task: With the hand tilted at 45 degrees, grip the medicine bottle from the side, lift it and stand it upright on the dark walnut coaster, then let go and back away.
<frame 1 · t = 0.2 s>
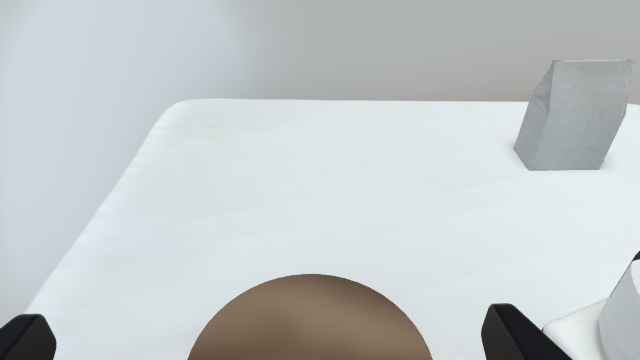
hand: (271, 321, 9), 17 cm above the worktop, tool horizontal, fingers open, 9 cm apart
gable top carton: (554, 160, 44), on the worktop
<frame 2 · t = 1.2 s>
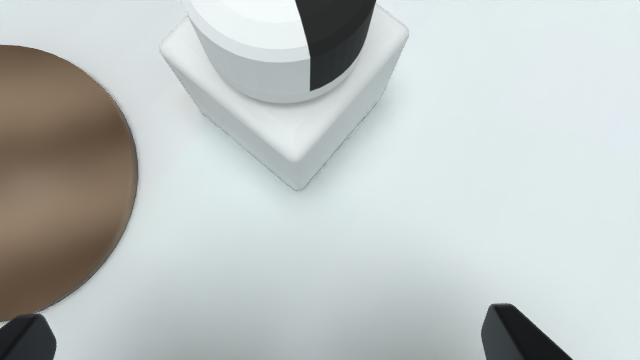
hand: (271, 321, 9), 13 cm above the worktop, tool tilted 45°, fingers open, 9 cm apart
medicine bottle: (291, 104, 24), on the worktop
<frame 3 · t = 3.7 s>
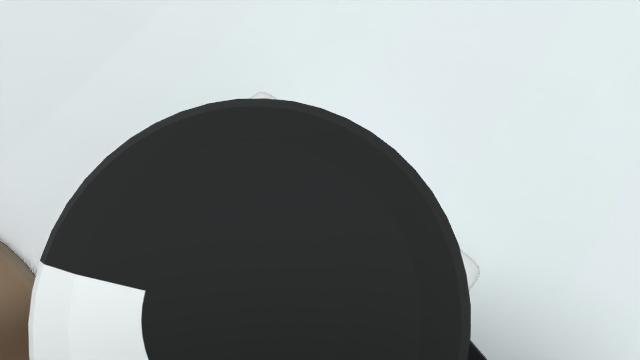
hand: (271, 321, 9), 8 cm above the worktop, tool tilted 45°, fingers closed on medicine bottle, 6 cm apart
medicine bottle: (287, 278, 17), on the worktop, touching gripper
when the fingers open (10 cm above the worktop, at t = 7.6 s): medicine bottle drops 1 cm, resting on walnut coaster.
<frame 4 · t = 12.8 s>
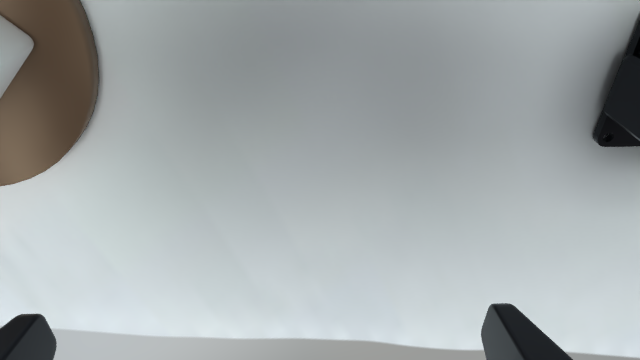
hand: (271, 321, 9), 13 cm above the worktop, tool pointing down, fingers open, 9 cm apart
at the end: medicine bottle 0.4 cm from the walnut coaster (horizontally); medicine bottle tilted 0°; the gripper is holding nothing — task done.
